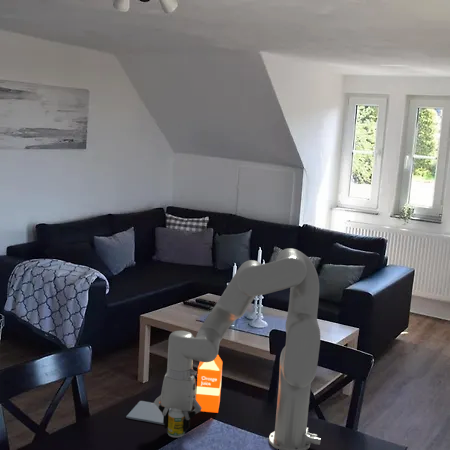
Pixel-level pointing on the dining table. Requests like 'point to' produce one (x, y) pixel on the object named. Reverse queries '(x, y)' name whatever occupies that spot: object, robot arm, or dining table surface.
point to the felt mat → (146, 413)
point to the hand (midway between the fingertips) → (176, 427)
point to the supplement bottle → (176, 423)
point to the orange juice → (209, 385)
